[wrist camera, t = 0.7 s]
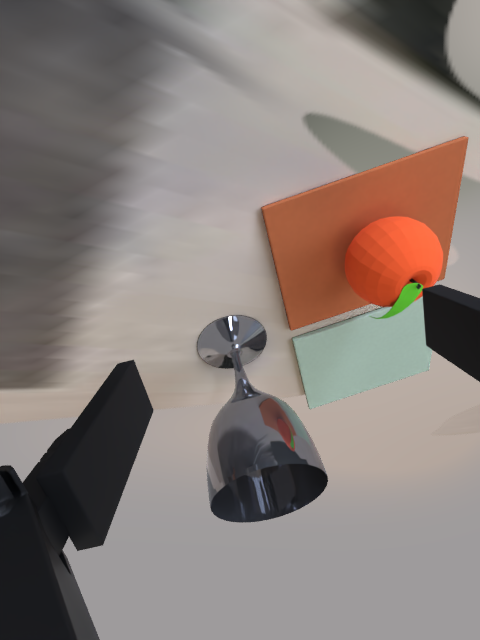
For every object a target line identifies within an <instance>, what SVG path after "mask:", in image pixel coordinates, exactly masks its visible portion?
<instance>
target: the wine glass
mask: <svg viewBox="0 0 480 640" xmlns="http://www.w3.org/2000/svg"><path fill="white" fill-rule="evenodd" d="M266 340H267V335H266V331H265V329H264V327H263V326H262V325H261V324H260V323H259V322H258V321H257V320H255V319H253V318H250V317H247V316H241V315H233V316H227V317H223V318H220V319H218V320H216V321H214V322H212V323H211V324H209V325H208V326H207V327H206V328H205V329H204V330H203V331H202V333H201V334H200V336H199V338H198V342H197V349H198V353H199V355H200V356H201V358H202V359H203V360H204V361H205V362H206V363H208V364H210V365H212V366H215V367H218V368H234V371H235V390H234V393H233V395H232V397H231V398H230V399H229V400H228V402H227V403H226V404H225V405H224V406H223V407H222V409H221V410H220V411H219V413H218V414H217V416H216V418H215V419H214V421H213V423H212V426H211V430H210V434H209V442H208V450H207V481H208V491H209V501H210V506H211V511H212V512H213V514H214V515H216V516H217V517H218V518H220V519H223V520H226V521H231V522H256V521H263V520H268V519H272V518H276V517H280V516H283V515H285V514H288V513H291V512H293V511H296V510H298V509H300V508H302V507H303V506H305V505H307V504H309V503H310V502H312V501H313V500H315V499H316V498H317V497H318V496H319V495H320V494H321V493H322V492H323V491H324V489H325V487H326V486H327V482H328V478H327V474H326V471H325V468H324V466H323V463H322V461H321V458H320V456H319V453H318V451H317V449H316V447H315V445H314V442H313V440H312V439H311V437H310V435H309V433H308V432H307V430H306V428H305V426H304V425H303V423H302V421H301V420H300V419H299V417H298V416H297V414H296V413H295V412H294V411H293V410H292V408H291V407H290V406H289V405H287V403H285V402H284V401H282V400H280V399H279V398H277V397H275V396H273V395H270V394H267V393H265V392H262V391H260V390H258V389H256V388H255V387H254V386H253V385H252V384H251V383H250V382H249V380H248V378H247V376H246V373H245V371H244V369H243V365H245V364H248V363H249V362H251V361H253V360H254V359H255V358H257V357H258V356H259V355H260V354H261V352H262V351H263V349H264V347H265V345H266Z"/></svg>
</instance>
